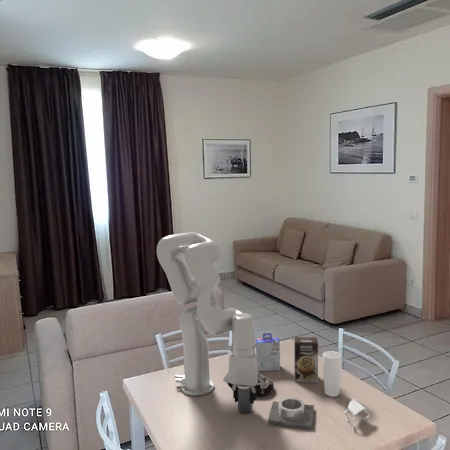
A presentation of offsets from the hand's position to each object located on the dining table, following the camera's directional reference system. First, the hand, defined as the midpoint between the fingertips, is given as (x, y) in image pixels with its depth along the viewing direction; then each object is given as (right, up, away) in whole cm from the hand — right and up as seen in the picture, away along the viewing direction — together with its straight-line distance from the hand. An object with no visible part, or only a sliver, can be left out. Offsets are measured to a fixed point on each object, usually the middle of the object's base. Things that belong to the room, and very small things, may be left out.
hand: (244, 400), depth 148 cm
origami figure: (+36, -4, -7) cm, 37 cm away
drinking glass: (+32, -2, +10) cm, 34 cm away
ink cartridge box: (+11, 0, +32) cm, 34 cm away
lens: (0, -3, 0) cm, 3 cm away
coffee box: (+25, -1, +22) cm, 33 cm away
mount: (+15, -4, -4) cm, 16 cm away
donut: (+6, -2, +14) cm, 16 cm away
